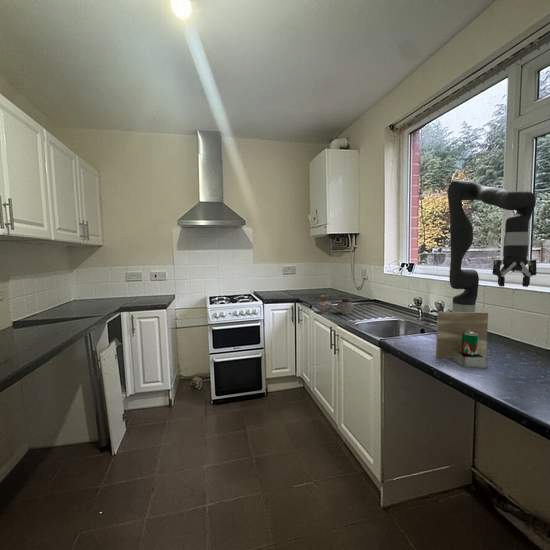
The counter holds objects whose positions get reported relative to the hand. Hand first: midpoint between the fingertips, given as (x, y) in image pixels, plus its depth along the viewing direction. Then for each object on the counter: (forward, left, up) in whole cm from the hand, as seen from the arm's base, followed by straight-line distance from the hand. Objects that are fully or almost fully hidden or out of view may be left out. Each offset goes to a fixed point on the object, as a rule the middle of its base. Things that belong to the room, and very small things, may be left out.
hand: (513, 286), depth 118 cm
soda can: (+8, -19, -28) cm, 35 cm away
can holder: (+8, -19, -28) cm, 35 cm away
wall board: (+2, -19, -28) cm, 34 cm away
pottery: (-80, -60, -28) cm, 104 cm away
